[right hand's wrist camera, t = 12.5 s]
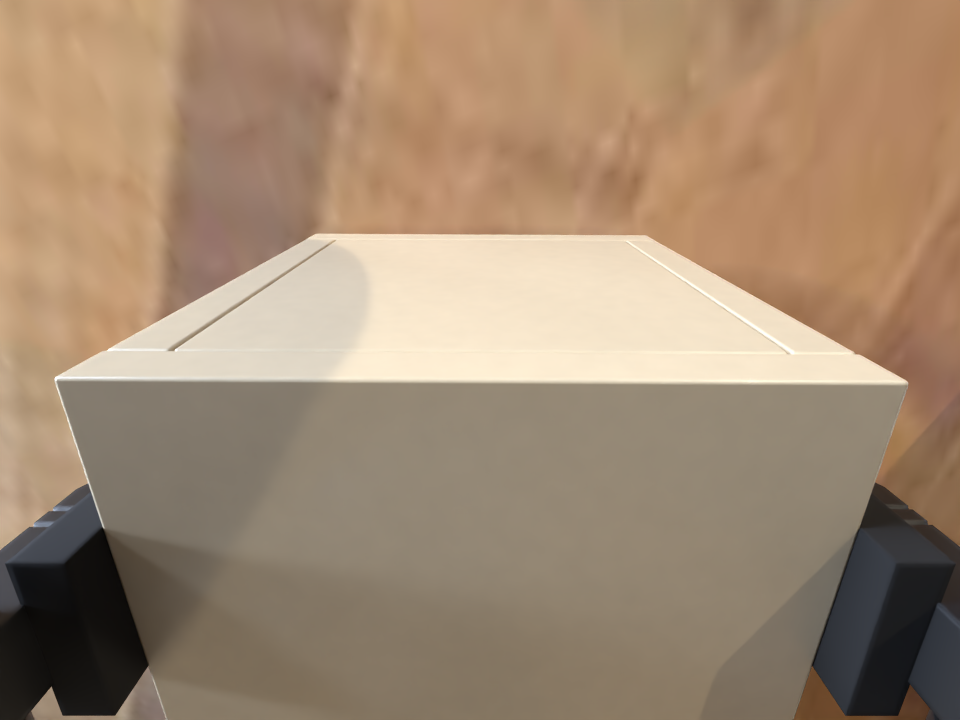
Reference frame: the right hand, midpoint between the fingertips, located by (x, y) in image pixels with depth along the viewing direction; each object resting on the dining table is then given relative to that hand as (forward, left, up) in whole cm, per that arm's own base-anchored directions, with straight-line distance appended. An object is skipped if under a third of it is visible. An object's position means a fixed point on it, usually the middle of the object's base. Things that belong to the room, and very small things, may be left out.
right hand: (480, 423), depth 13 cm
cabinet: (+4, -6, -6) cm, 9 cm away
